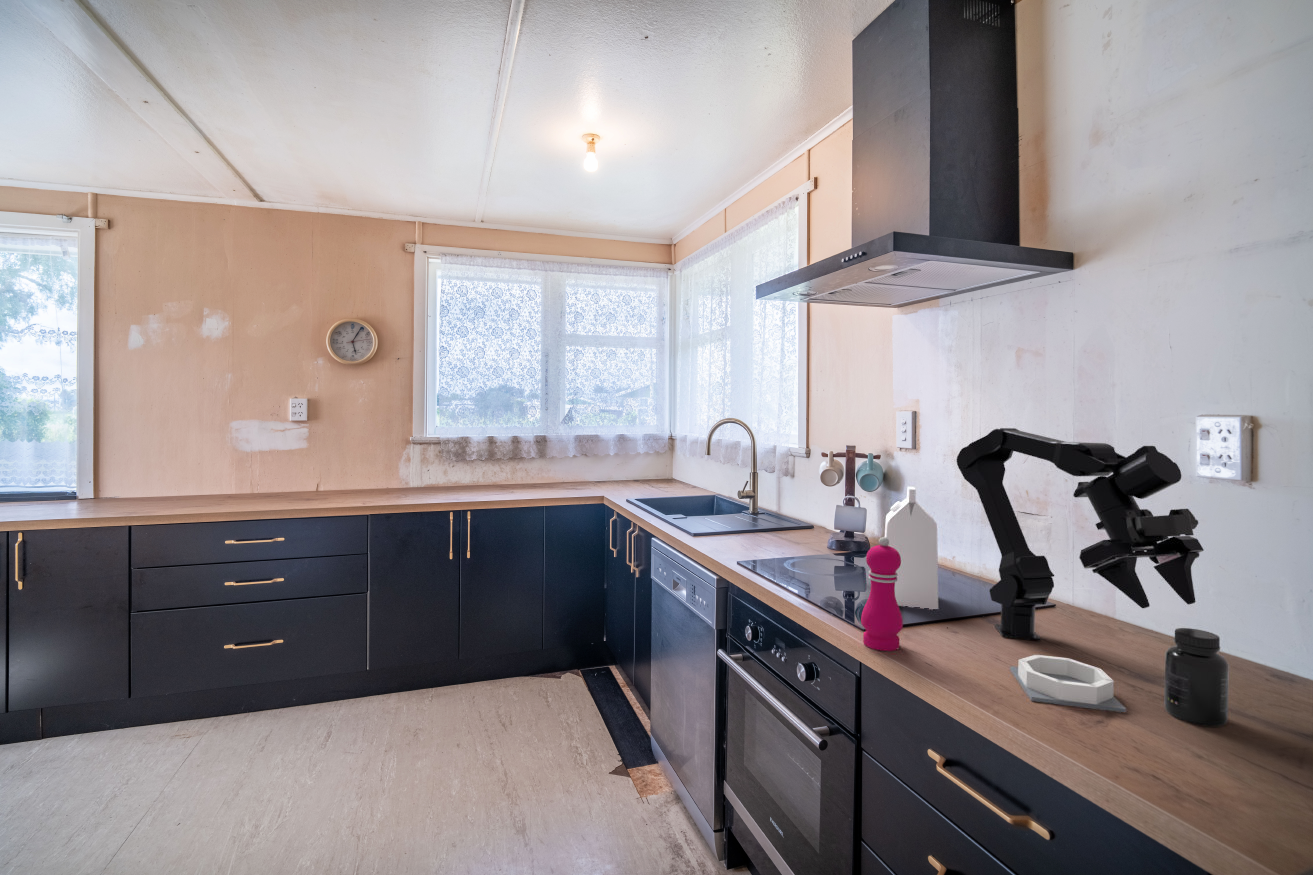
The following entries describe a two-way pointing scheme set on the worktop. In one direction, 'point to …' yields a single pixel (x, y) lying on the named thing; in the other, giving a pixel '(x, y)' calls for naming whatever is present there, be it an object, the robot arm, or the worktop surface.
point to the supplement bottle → (1196, 679)
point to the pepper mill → (882, 599)
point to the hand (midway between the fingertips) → (1169, 605)
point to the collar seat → (1066, 683)
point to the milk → (914, 552)
